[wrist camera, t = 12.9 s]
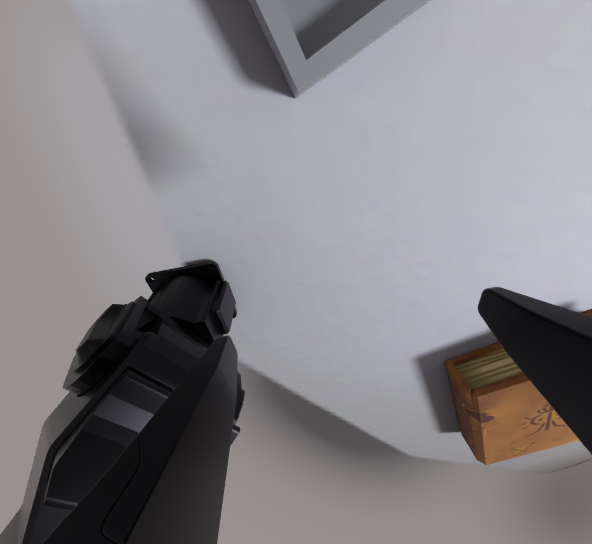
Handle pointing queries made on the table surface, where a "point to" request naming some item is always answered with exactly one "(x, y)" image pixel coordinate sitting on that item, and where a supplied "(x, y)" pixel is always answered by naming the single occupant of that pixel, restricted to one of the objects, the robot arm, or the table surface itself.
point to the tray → (324, 32)
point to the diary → (502, 407)
